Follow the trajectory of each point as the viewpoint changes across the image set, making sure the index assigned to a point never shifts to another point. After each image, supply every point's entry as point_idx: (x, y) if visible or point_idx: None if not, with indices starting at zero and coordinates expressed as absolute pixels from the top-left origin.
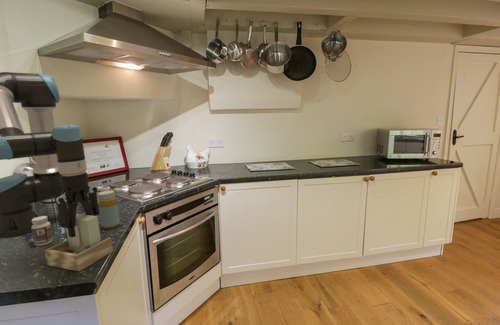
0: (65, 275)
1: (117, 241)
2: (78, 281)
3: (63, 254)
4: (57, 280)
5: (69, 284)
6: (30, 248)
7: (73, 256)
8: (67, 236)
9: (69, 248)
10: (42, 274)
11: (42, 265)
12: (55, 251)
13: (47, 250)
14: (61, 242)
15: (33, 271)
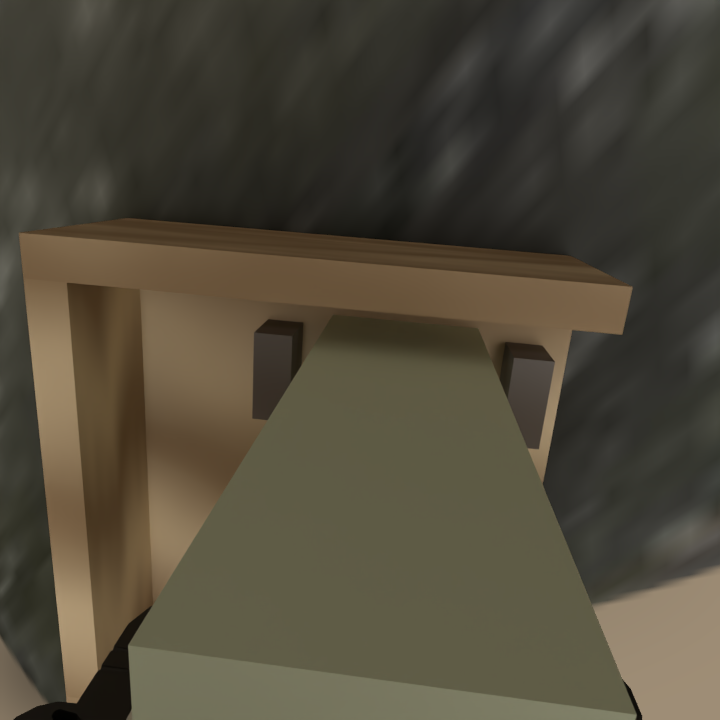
0: None
1: (710, 567)
2: (58, 679)
3: (55, 558)
4: (8, 535)
5: (12, 649)
6: None
7: (70, 677)
8: (292, 382)
9: (327, 325)
10: (10, 337)
11: (107, 172)
12: (56, 418)
13: (35, 281)
14: (273, 255)
15: (5, 193)
